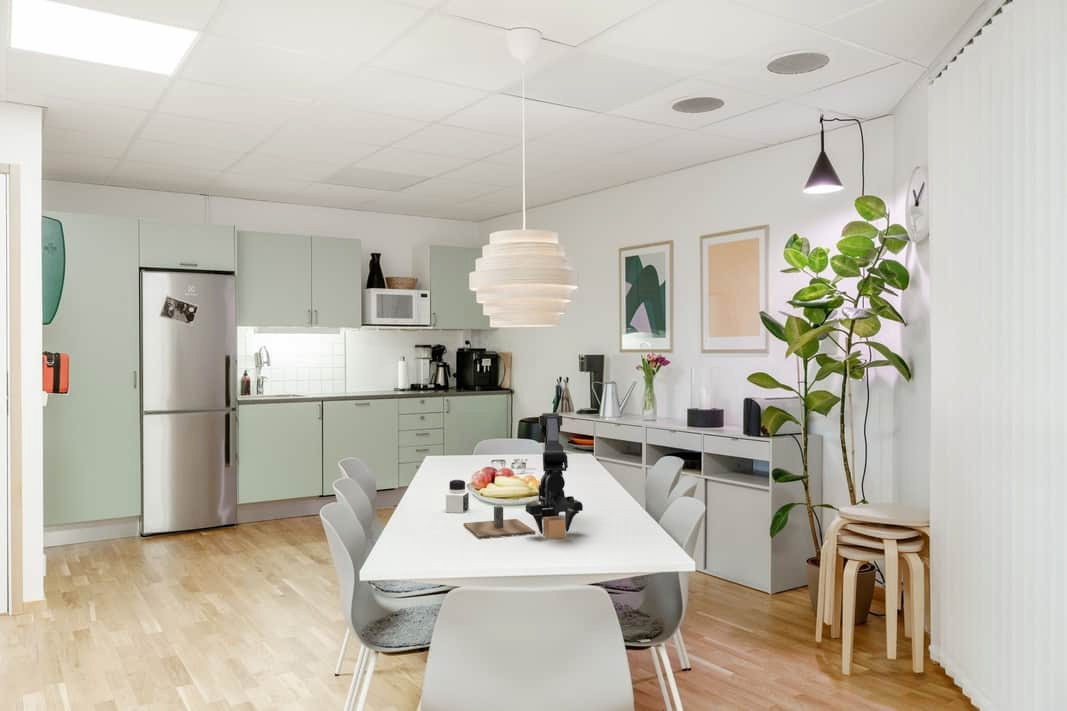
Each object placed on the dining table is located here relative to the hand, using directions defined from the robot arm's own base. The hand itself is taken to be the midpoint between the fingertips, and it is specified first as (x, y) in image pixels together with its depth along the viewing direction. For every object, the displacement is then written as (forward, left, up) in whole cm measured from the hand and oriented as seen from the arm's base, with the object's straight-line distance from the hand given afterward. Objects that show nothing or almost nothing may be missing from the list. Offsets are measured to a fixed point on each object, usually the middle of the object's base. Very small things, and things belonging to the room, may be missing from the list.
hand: (554, 532), depth 261 cm
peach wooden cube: (0, 0, -1) cm, 1 cm away
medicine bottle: (+21, -50, -2) cm, 54 cm away
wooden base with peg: (+15, -15, -1) cm, 21 cm away
